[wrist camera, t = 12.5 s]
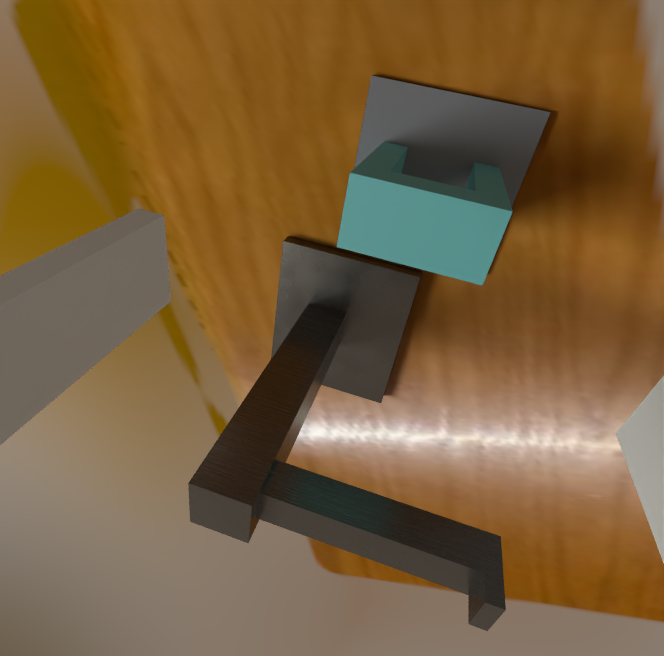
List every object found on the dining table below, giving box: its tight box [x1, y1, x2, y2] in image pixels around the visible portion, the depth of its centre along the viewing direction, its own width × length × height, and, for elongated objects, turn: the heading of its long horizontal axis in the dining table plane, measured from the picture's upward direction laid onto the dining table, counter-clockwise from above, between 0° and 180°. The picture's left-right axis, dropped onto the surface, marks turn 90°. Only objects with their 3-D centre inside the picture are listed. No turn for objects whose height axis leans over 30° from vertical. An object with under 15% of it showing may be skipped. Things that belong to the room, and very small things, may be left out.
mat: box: [354, 75, 551, 207], centre depth 26 cm, size 10×10×1 cm
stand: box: [189, 236, 506, 631], centre depth 26 cm, size 12×16×18 cm
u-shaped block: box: [337, 142, 513, 285], centre depth 23 cm, size 7×4×9 cm, turn 80°
